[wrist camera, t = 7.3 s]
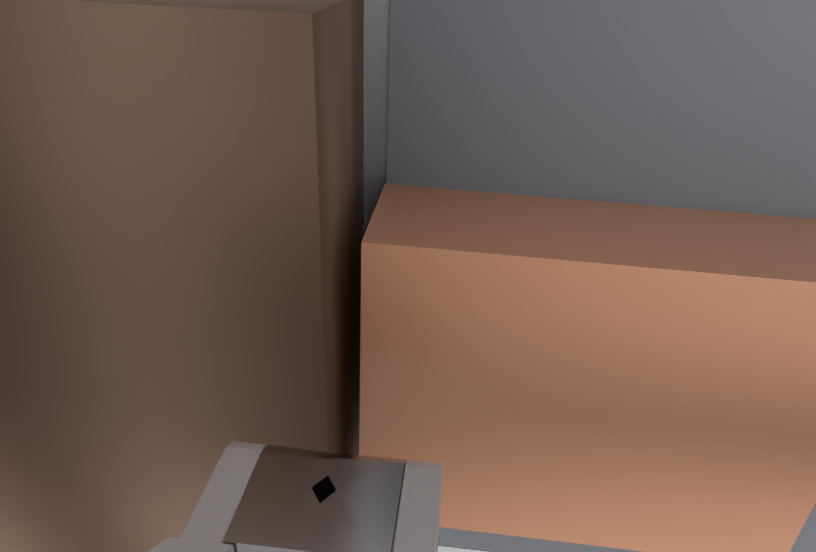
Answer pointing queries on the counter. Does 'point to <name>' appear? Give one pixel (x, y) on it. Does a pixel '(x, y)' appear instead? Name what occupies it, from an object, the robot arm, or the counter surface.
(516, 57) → the rubber mat
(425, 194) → the terracotta tile
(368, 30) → the counter surface
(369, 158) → the counter surface
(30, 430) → the brown wooden square block
